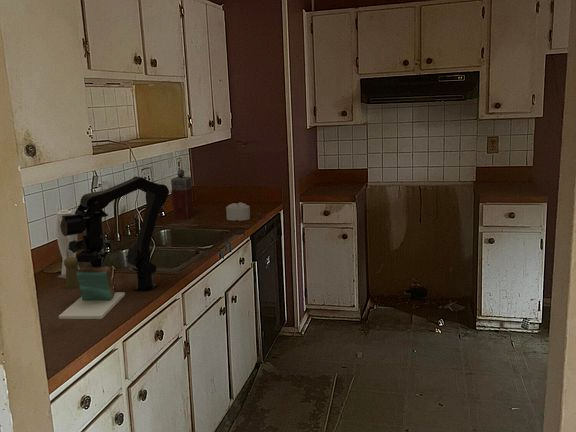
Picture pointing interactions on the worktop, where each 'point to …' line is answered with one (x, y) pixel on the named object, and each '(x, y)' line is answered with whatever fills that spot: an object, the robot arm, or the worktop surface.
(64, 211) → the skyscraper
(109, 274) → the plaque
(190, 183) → the square decanter
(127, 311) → the worktop surface
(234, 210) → the lumpy-topped squat cylinder
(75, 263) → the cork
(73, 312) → the board
